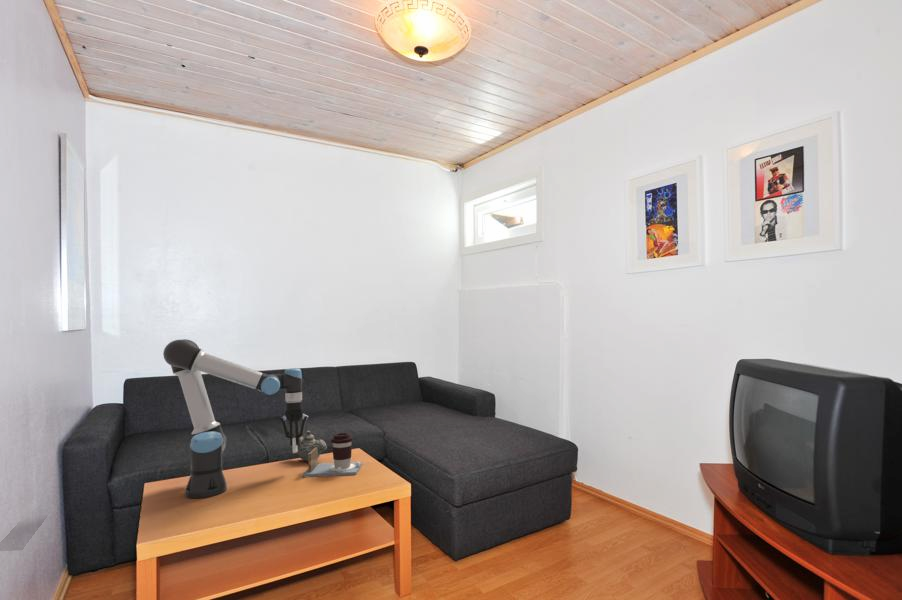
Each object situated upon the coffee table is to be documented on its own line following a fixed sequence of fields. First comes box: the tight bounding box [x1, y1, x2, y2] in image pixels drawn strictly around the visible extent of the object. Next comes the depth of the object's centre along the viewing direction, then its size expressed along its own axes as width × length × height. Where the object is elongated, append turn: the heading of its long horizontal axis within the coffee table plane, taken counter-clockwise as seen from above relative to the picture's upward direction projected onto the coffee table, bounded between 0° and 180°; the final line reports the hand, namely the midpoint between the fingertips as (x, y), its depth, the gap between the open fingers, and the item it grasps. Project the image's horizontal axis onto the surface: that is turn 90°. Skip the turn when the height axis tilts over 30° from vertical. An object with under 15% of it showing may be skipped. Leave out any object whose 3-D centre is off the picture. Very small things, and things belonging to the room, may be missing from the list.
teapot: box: [294, 430, 328, 462], centre depth 236 cm, size 21×12×15 cm, turn 68°
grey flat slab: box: [302, 461, 363, 478], centre depth 217 cm, size 24×17×3 cm
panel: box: [307, 447, 319, 472], centre depth 216 cm, size 3×12×8 cm, turn 2°
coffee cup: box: [330, 432, 354, 469], centre depth 217 cm, size 10×10×15 cm
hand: (295, 452), depth 217 cm, fingers closed
